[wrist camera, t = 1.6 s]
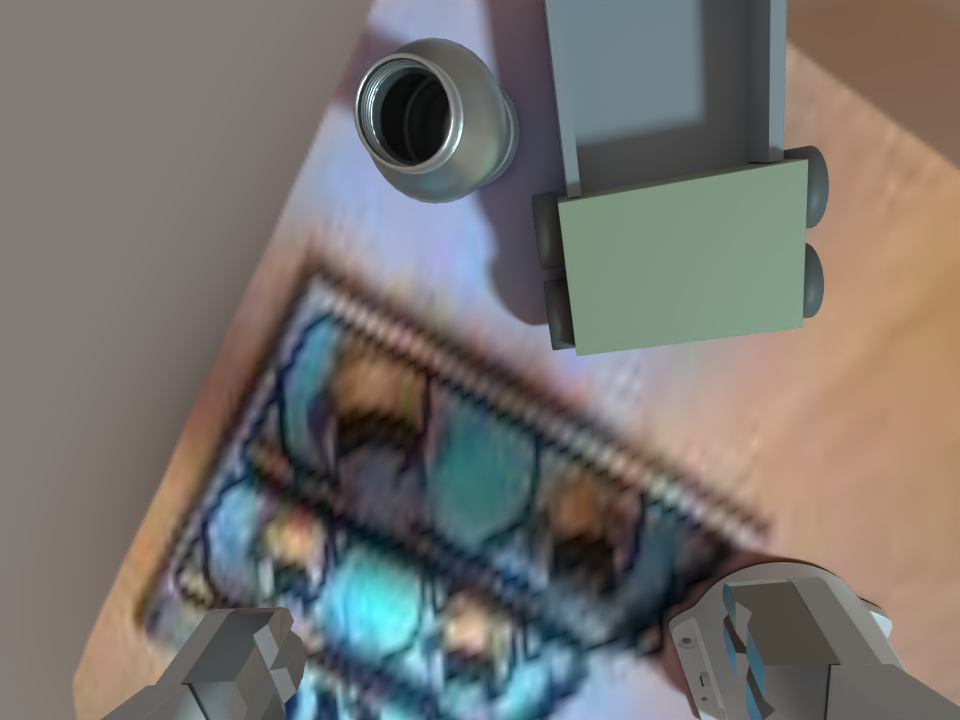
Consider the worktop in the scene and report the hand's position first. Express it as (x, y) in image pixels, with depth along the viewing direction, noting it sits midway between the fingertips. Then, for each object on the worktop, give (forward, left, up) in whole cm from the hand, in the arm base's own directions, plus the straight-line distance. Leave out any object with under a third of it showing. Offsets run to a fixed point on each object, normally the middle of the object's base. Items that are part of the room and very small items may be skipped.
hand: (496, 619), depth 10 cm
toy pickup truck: (+6, -9, -32) cm, 34 cm away
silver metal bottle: (+10, +3, -32) cm, 34 cm away
